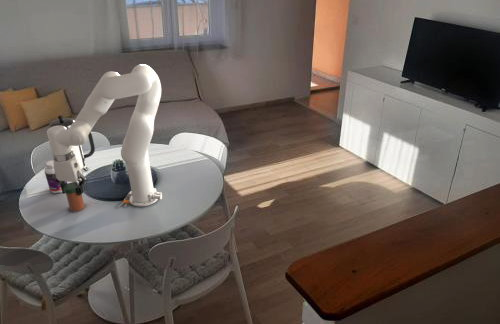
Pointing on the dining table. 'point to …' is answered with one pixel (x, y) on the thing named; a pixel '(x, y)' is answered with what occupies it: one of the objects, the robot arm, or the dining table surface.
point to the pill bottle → (51, 181)
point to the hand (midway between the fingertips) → (73, 192)
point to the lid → (70, 188)
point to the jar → (75, 201)
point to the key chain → (127, 199)
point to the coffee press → (76, 149)
